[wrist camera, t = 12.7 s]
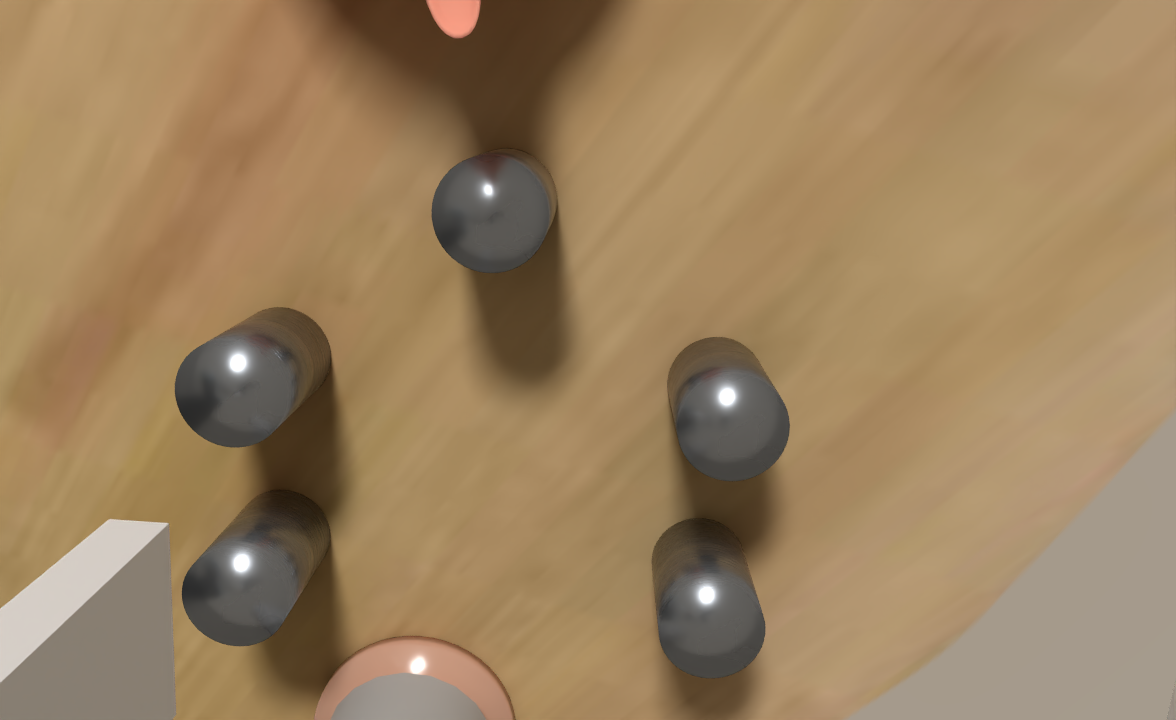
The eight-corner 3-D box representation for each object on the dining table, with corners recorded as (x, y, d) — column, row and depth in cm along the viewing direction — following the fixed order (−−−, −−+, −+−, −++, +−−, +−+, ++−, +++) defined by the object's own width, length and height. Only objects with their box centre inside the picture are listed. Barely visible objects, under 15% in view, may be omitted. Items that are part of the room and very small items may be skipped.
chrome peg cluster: (239, 572, 44) (183, 642, 38) (230, 129, 40) (165, 132, 34) (739, 606, 44) (759, 681, 38) (788, 167, 40) (819, 177, 34)
